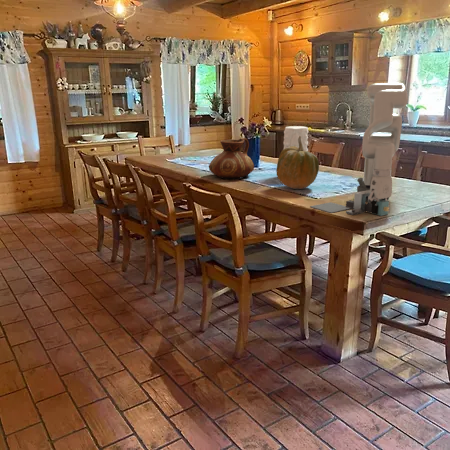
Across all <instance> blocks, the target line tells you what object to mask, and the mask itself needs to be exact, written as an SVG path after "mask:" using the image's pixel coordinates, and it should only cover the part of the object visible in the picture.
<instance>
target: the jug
mask: <svg viewBox="0 0 450 450" xmlns="http://www.w3.org/2000/svg"><path fill="white" fill-rule="evenodd" d="M243 144H245V145H244V149H243V151H241V149H242V147H243ZM220 145H221V146H222V148H223V151H222V152H221V153H219V154H217V155H216V156H214V157H213V159H211V161H210V163H209V165H208V169H209V171H210V172H211V173H212V174H213V175H215V176H216V177H219V178H220V179H224V180H235V179H237V180H238V179H243V178H246V177H247V176H249V175H250V174H251V173H252V172H253V171H254V169H255V164H254V161H253V160H252V159H251V157H250V156H248V150H249V147H250V142H249V140H248V138H245V137H241V138H239V139H232V138H229V139H223V140H222V139H221V140H220Z"/></svg>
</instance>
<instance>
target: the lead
mask: <svg viewBox="0 0 450 450" xmlns="http://www.w3.org/2000/svg"><path fill="white" fill-rule="evenodd" d="M345 202H346V203H345V206H347V207H351V208H352V210H354V200H352V199H351V200H347V201H345ZM371 209H372V205H370V204H368V203H365V212H366V211H367V212H366V213H371ZM371 214H372V213H371Z"/></svg>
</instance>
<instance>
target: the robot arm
mask: <svg viewBox="0 0 450 450" xmlns="http://www.w3.org/2000/svg"><path fill="white" fill-rule="evenodd" d="M366 93H367V99H368V101H369V104H370V110H369V111H370V113H369V123H368V124H369V125H368V126H367V128H366V129H365V131H364V133H363V136H362V148H361V149H362V156H363V157H364V166H363V167H364V169H363V182H364V184H365V185H371V186H370V196H369V198H368V200H369V201H370V202H371V205H372V209H371V214H373V215H376V214H378V201H379V199H381V200H385V201H389V199H390V198H391V197H392V195H393V177H392V165H393V164H392V163H393V158H394V156H395V155H396V152H397V151H398V150H399V148H400V142H401V134H402V128H403V118H402V115H400V114H397V113H394V109H404V108H406V106H407V105H408V98H409V96H408V91H407V87H406V85H405V84H404V83H401V82H397V83H396V82H393V83H388V82H384V83H383V82H380V83H371V84H369V85H368V87H367V91H366ZM375 200H376V202H375Z"/></svg>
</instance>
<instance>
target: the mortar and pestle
mask: <svg viewBox="0 0 450 450" xmlns="http://www.w3.org/2000/svg"><path fill="white" fill-rule="evenodd" d="M363 179H364V177H359V178H357V182H358V186H357V187H356V192H361V191H366V190H370V186H371V185H365V184H364V182H363ZM366 202H367V203H368V196H366Z"/></svg>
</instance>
